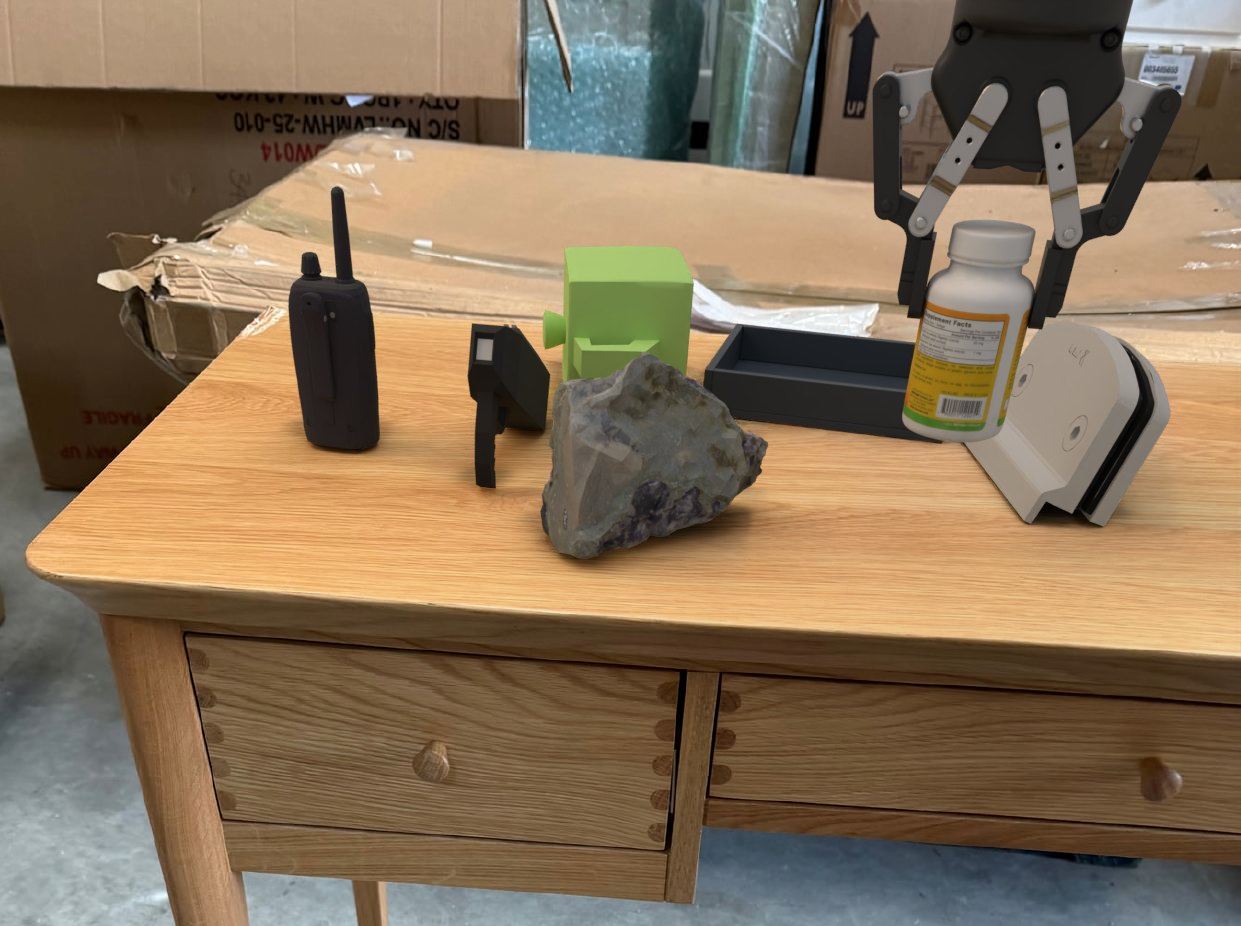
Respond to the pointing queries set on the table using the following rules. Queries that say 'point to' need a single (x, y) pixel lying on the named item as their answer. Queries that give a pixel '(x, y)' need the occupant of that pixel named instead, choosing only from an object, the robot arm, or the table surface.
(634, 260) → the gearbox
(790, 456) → the table surface
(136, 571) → the table surface
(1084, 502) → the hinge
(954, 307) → the supplement bottle
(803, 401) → the tray
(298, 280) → the two-way radio
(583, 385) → the mineral rock
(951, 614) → the table surface
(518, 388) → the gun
